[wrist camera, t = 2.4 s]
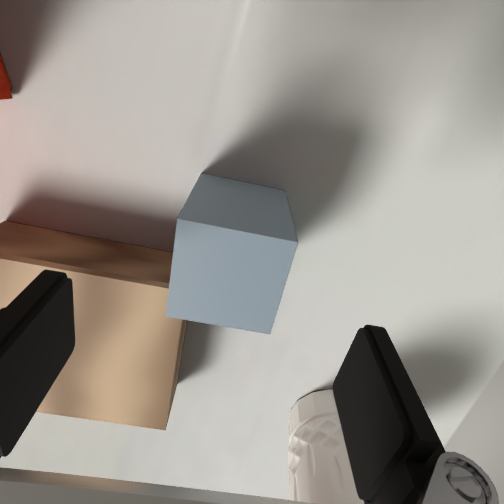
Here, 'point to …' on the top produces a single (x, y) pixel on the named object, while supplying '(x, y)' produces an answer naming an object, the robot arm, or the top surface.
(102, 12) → the top surface
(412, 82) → the top surface
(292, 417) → the white cup
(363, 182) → the top surface
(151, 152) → the top surface
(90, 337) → the pedestal
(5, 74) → the file binder
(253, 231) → the block
